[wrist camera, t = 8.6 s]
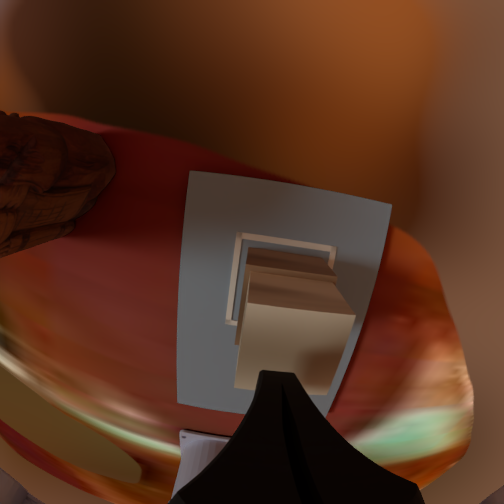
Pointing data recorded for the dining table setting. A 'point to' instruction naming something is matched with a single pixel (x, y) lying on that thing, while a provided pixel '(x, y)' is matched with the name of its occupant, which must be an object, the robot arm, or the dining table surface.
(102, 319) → the dining table surface
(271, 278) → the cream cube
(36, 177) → the wooden figurine
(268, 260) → the walnut base block
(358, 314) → the mat
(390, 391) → the dining table surface
